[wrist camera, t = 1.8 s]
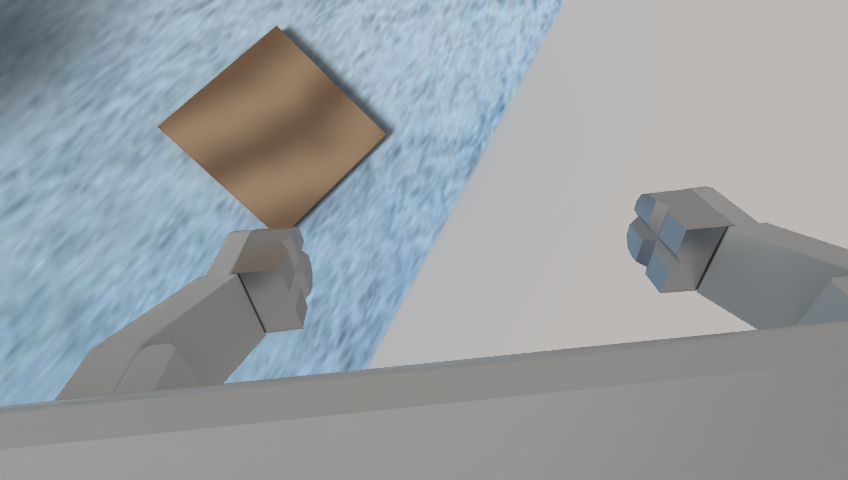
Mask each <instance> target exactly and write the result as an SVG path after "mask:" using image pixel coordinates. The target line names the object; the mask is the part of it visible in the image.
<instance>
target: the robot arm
mask: <svg viewBox="0 0 848 480" xmlns="http://www.w3.org/2000/svg"><path fill="white" fill-rule="evenodd" d="M635 211H636V213H637V215H638V217H637V218H636V219H635V220H634V221H633V222H632V223H631V224H630V226H629V230H628V233H627V243H628V248H629V251H630V253H631V255H632V257H633V258H634V259H635V261H636V262H638V263H640V264H642V265H644V266H646V267H647V269H646V273H645V274H646V275H647V276H648V278H649V279H650V280H651V282H652V283H653V284H654V285H655V287H656V288H657V289H658V291H659V292H660V293H667V292H668V293H669V292H682V291H696V290H697V293H699V294H701V295H702V296H704V297H706V298H707V299H709V300H710V301H712V302H714V303H715V304H717V305H719V306H721V307H722V308H724V309H725V310H727V311H728V312H730V313H732V314H733V315H735V316H737V317H738V318H740V319H741V320H743V321H745V322H746V323H748V324H750V325H751V326H753V327H754V328H756V329H758V330H750V331H742V332H731V333H722V334H712V335H701V336H691V337H682V338H671V339H661V340H651V341H641V342H632V343H621V344H611V345H601V346H591V347H581V348H571V349H561V350H552V351H542V352H532V353H522V354H513V355H503V356H493V357H483V358H473V359H464V360H455V361H444V362H434V363H424V364H415V365H405V366H395V367H386V368H375V369H365V370H355V371H346V372H336V373H326V374H316V375H306V376H296V377H287V378H277V379H267V380H257V381H247V382H237V383H227V384H223V383H224V382H225V381H226V380H227V378H228V377H229V376H230V375H231V374H232V373H233V372H234V371H235V369H236V368H237V367H238V366H239V365H240V364H241V363H242V362H243V360H244V359H245V358H246V357H247V356H248V355H249V354H250V352H251V351H252V350H253V349H254V348H255V347H256V346H257V345H258V343H259V342H260V341H261V340H262V339H263V338H264V337H265V336H266V334H265V333H272V332H280V331H288V330H296V329H303V325H304V320H305V316H306V312H307V304H306V301H305V298H306V297H307V296H308V295H309V294H310V293H311V288H312V268H311V263H310V259H309V256H308V255H307V254H306V253H304V252H303V251H302V246H303V242H304V240H303V237H302V235H301V232H300V229H298V228H297V227H283V228H269V229H256V230H244V231H234V232H231V233H229V234H228V236H227V238H226V239H225V241H224V243H223V245H222V247H221V249H220V250H219V252H218V254H217V256H216V258H215V260H214V261H213V263H212V265H211V267H210V269H209V271H208V272H207V274H206V276H205V277H200V278H197V279H195V280H194V281H192V282H191V283H189V284H188V285H186V286H185V287H183V288H182V289H181V290H179V291H178V292H176V293H175V294H173V295H172V296H170V297H169V298H167V299H166V300H164V301H163V302H161V303H160V304H158V305H157V306H155V307H154V308H152V309H151V310H149V311H148V312H146V313H145V314H143V315H142V316H140V317H139V318H137V319H136V320H134V321H133V322H131V323H130V324H128V325H127V326H125V327H124V328H123V329H121V330H120V331H118V332H117V333H115V334H114V335H112V336H111V337H109V338H108V339H106V340H105V341H103V342H102V343H100V344H99V345H97V346H96V347H94V348H93V349H91V351H90V352H89V354H88V355H87V356H86V358H85V359H84V360H83V362H82V363H81V365H80V366H79V367H78V369H77V370H76V371H75V373H74V374H73V376H72V377H71V378H70V380H69V381H68V382H67V384H66V385H65V387H64V388H63V389H62V391H61V392H60V394H59V395H58V396H57V398H56V399H55V400H54V401H49V402H39V403H29V404H20V405H10V406H0V480H848V249H845V248H842V247H839V246H836V245H832V244H829V243H826V242H823V241H820V240H817V239H814V238H811V237H808V236H805V235H802V234H799V233H796V232H792V231H789V230H787V229H784V228H780V227H777V226H774V225H771V224H768V223H758V222H757V221H756V220H754V219H753V218H752V217H750V216H749V215H747V214H746V213H745V212H744V211H742V210H741V209H740V208H738V207H737V206H736V205H734V204H733V203H732V202H731V201H729V200H728V199H727V198H725V197H724V196H723V195H721V194H720V193H719V192H717V191H716V190H715V189H713V188H710V187H698V188H691V189H684V190H676V191H667V192H660V193H650V194H642V195H641V196H640V198H639V199H638V200H637V203H636V206H635Z"/></svg>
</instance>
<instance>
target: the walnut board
mask: <svg viewBox="0 0 848 480" xmlns="http://www.w3.org/2000/svg"><path fill="white" fill-rule="evenodd" d="M158 128H160V129H161V130H162V131H163V132H164V133H165V134H166V135H167V136H168V137H169V138H171V139H172V140H173V141H174V142H175V143H176V144H177V145H178V146H179V147H180V148H182V149H183V150H184V151H185V152H186V153H187V154H188V155H189V156H190V157H191V158H193V159H194V160H195V161H196V162H197V163H198V164H199V165H200V166H201V167H202V168H204V169H205V170H206V171H207V172H208V173H209V174H210V175H211V176H212V177H213V178H214V179H216V180H217V181H218V182H219V183H220V184H221V185H222V186H223V187H224V188H225V189H227V190H228V191H229V192H230V193H231V194H232V195H233V196H234V197H235V198H236V199H238V200H239V201H240V202H241V203H242V204H243V205H244V206H245V207H246V208H247V209H249V210H250V211H251V212H252V213H253V214H254V215H255V216H256V217H257V218H258V219H259V220H261V221H262V222H263V223H264V224H265V225H266V226H267V227H268V228H283V227H295V226H296V225H297V224H298V223H299V222H300V221H301V220H302V219H303V218H304V217H305V216H306V215H307V214H308V213H309V212H310V211H311V210H312V209H313V208H314V207H315V206H316V205H317V204H318V203H319V202H320V201H321V200H322V199H323V198H324V197H325V196H326V195H327V194H328V193H329V192H330V191H331V190H332V189H333V188H334V187H335V186H336V185H337V184H338V183H339V182H340V181H341V180H342V179H343V178H344V177H345V176H346V175H347V174H348V173H349V172H350V171H351V170H352V169H353V168H354V167H355V166H356V165H358V164H359V163H360V162H361V161H362V160H363V159H364V158H365V157H366V156H367V155H368V154H369V153H370V152H371V151H372V150H373V149H374V148H375V147H376V146H377V145H378V144H379V143H380V142H381V141H382V140H383V139H384V138H385V135H386V134H385V133H384V132H383V131H382V130H381V129H380V128H379V127H378V126H377V125H376V124H375V123H374V122H373V121H372V120H371V119H370V118H369V117H368V116H367V115H366V114H365V113H364V112H363V111H362V110H361V109H360V108H359V107H358V106H357V105H356V104H355V103H354V102H353V101H352V100H351V99H350V98H349V97H348V96H347V95H346V94H345V93H344V92H343V91H342V90H341V89H340V88H339V87H338V86H337V85H336V84H335V83H334V82H333V81H332V80H331V79H330V78H329V77H328V76H327V75H326V74H325V73H324V72H323V71H322V70H321V69H320V68H319V67H318V66H317V65H316V64H315V63H314V62H313V61H312V60H311V59H310V58H309V57H308V56H307V55H306V54H305V53H304V52H303V51H302V50H301V49H300V48H299V47H298V46H297V45H296V44H294V43H293V42H292V41H291V40H290V39H289V38H288V37H287V36H286V35H285V34H284V33H283V32H282V31H281V30H280V29H279V28H278V27H277V26H276V27H274V28H273V29H272V30H271V31H270V32H269V33H267V34H266V35H265V36H264V37H263V38H261V39H260V40H259V41H258V42H257V43H256V44H254V45H253V46H252V47H251V48H250V49H248V50H247V51H246V52H245V53H244V54H243V55H241V56H240V57H239V58H238V59H237V60H236V61H234V62H233V63H232V64H231V65H230V66H228V67H227V68H226V69H225V70H224V71H223V72H221V73H220V74H219V75H218V76H217V77H216V78H214V79H213V80H212V81H211V82H210V83H208V84H207V85H206V86H205V87H204V88H203V89H201V90H200V91H199V92H198V93H197V94H195V95H194V96H193V97H192V98H191V99H190V100H188V101H187V102H186V103H185V104H184V105H183V106H181V107H180V108H179V109H178V110H177V111H175V112H174V113H173V114H172V115H171V116H170V117H168V118H167V119H166V120H165V121H164V122H163V123H161V124H160V125H159V126H158Z"/></svg>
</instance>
